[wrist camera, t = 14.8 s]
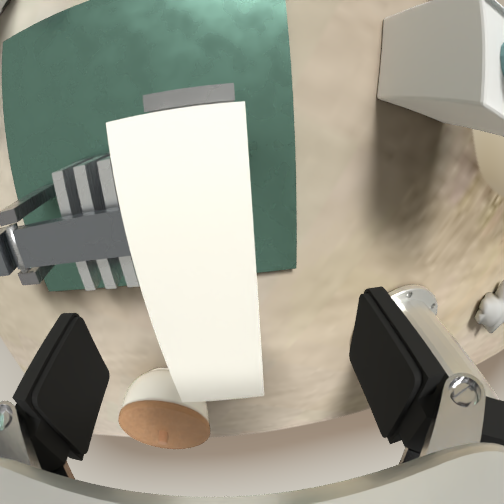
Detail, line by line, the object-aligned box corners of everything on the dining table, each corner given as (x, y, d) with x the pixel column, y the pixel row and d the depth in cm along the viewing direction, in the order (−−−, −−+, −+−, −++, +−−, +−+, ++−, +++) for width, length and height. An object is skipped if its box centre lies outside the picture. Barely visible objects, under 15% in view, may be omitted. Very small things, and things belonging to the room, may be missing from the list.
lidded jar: (221, 368, 34) (225, 433, 26) (194, 410, 38) (194, 465, 30) (136, 343, 31) (121, 409, 23) (123, 390, 35) (112, 446, 27)
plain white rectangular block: (251, 318, 18) (264, 395, 13) (188, 324, 18) (182, 402, 13) (234, 106, 13) (245, 101, 7) (151, 117, 12) (105, 122, 7)
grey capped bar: (241, 236, 19) (245, 253, 17) (-4, 267, 18) (-18, 281, 16) (237, 183, 18) (240, 193, 15) (-18, 229, 16) (-34, 241, 14)
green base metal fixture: (293, 263, 28) (329, 342, 18) (52, 286, 27) (7, 355, 17) (279, -23, 16) (317, -89, 6) (8, 43, 14) (-66, 35, 4)
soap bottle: (444, 123, 23) (605, 178, 6) (375, 98, 22) (574, 128, 5) (450, 51, 19) (605, 60, 2) (382, 17, 18) (554, -24, 1)
